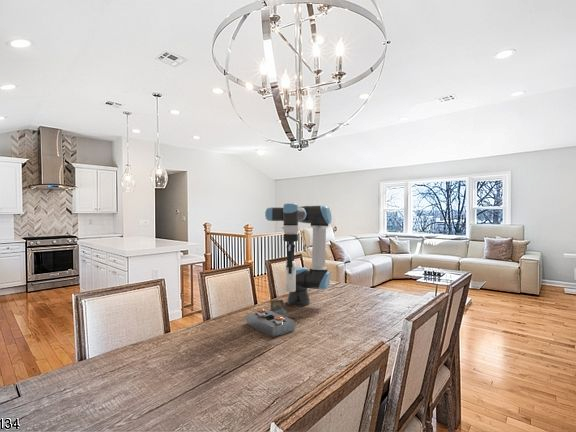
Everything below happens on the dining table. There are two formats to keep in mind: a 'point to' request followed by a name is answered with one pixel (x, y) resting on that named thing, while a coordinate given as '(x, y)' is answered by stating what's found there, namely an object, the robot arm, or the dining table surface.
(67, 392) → the dining table surface
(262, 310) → the plunger
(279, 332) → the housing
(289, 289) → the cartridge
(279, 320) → the plunger
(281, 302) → the beverage carton
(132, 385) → the dining table surface
